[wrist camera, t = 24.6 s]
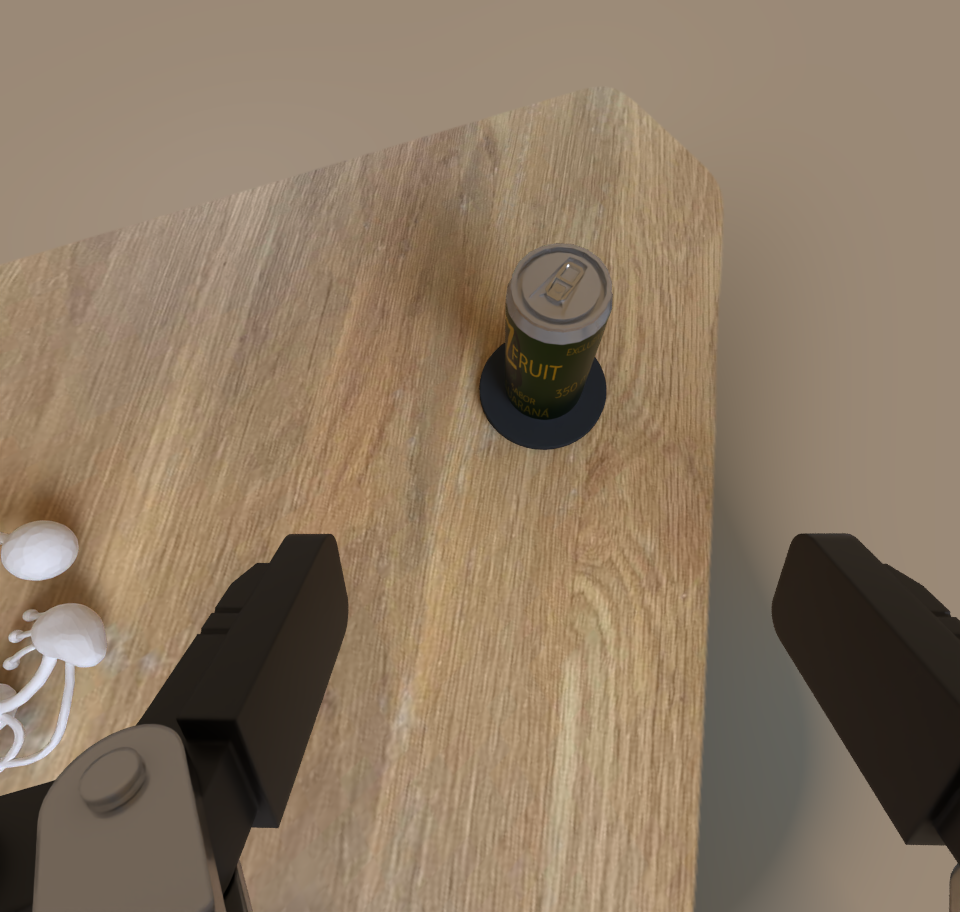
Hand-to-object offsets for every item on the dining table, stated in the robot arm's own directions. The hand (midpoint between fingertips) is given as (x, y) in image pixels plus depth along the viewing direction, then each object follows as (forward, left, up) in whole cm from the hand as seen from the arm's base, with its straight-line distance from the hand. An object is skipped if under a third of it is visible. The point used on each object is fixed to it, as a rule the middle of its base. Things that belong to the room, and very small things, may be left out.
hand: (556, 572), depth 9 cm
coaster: (-2, -15, -25) cm, 29 cm away
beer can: (-2, -15, -24) cm, 28 cm away
